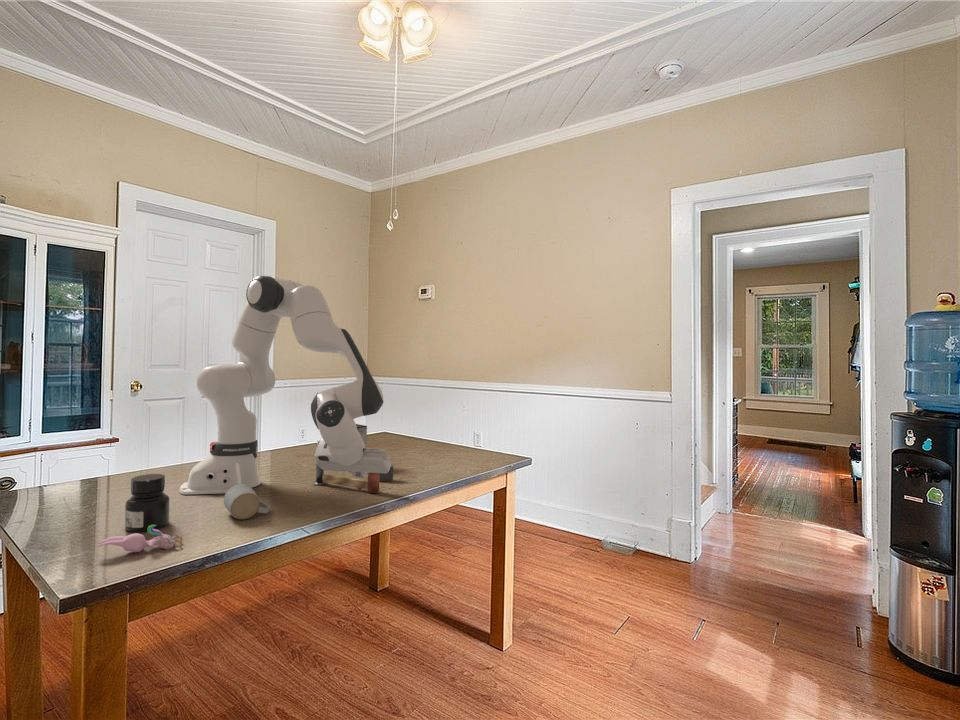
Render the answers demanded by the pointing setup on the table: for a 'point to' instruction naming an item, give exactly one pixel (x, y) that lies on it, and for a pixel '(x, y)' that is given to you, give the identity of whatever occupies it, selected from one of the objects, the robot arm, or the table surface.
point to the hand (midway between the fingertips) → (360, 475)
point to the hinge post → (319, 474)
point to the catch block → (387, 475)
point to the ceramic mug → (243, 502)
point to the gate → (355, 482)
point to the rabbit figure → (142, 541)
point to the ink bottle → (147, 503)
